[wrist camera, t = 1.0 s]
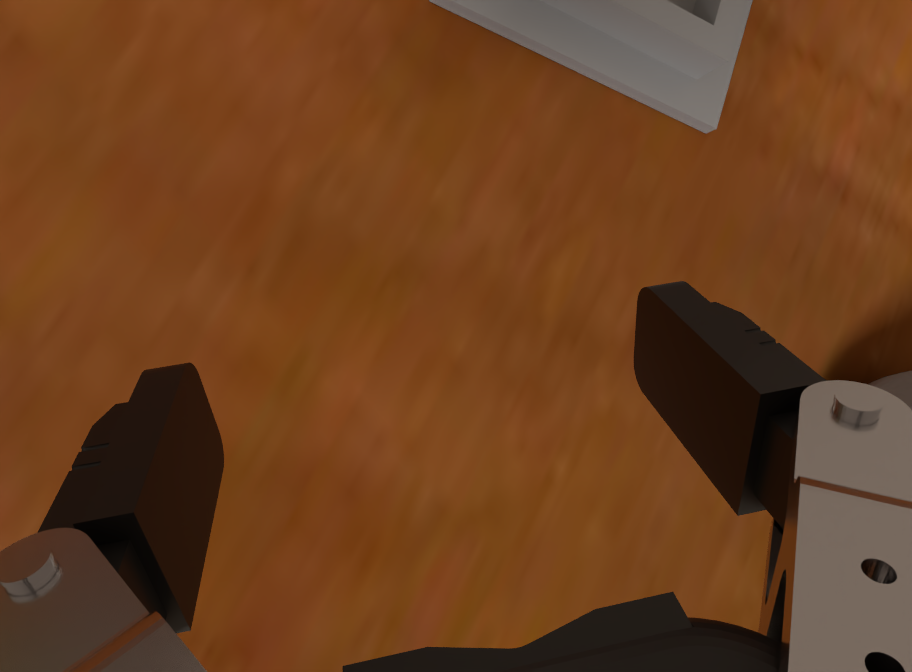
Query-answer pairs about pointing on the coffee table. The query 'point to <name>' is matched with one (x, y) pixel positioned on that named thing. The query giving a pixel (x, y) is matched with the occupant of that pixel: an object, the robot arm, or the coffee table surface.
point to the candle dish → (631, 45)
